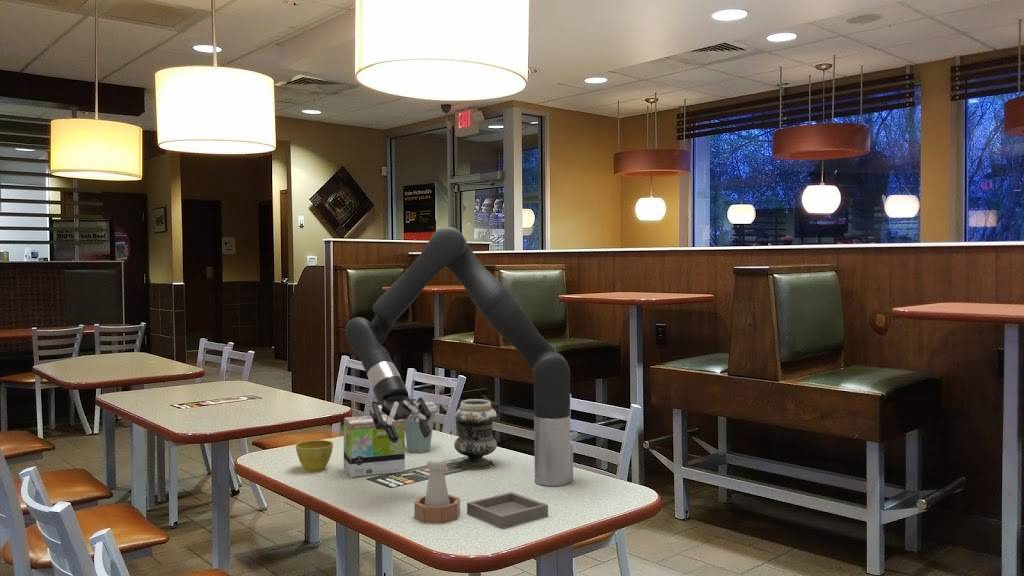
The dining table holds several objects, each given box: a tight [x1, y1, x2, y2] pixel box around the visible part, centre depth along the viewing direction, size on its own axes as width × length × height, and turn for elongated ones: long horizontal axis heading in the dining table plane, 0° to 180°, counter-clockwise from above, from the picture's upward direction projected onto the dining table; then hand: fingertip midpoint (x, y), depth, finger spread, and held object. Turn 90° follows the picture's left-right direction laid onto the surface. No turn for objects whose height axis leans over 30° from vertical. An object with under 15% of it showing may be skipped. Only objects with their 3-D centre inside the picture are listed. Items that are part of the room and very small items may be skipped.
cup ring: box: [413, 493, 461, 524], centre depth 176 cm, size 10×10×4 cm
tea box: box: [343, 414, 406, 478], centre depth 215 cm, size 15×10×15 cm, turn 114°
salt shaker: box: [424, 457, 450, 506], centre depth 176 cm, size 6×6×13 cm
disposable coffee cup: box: [404, 401, 437, 454], centre depth 238 cm, size 11×11×15 cm
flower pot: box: [295, 439, 334, 473], centre depth 217 cm, size 10×10×7 cm
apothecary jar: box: [453, 398, 498, 470], centre depth 221 cm, size 12×12×18 cm
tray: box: [466, 491, 549, 529], centre depth 176 cm, size 13×13×2 cm
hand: (412, 438), depth 184 cm, fingers open, 8 cm apart
